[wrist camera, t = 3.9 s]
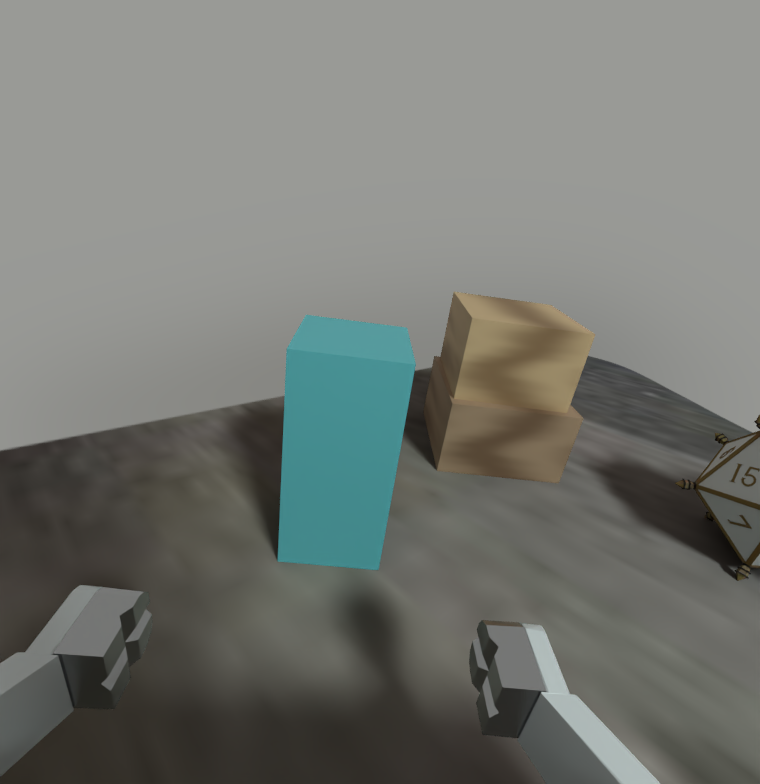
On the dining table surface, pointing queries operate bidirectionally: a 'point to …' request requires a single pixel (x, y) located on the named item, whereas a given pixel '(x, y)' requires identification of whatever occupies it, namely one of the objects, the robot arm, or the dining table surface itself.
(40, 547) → the dining table surface
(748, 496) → the game die
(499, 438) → the walnut base block
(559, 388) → the oak top block
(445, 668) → the dining table surface
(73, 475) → the dining table surface
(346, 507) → the teal pillar
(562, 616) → the dining table surface
